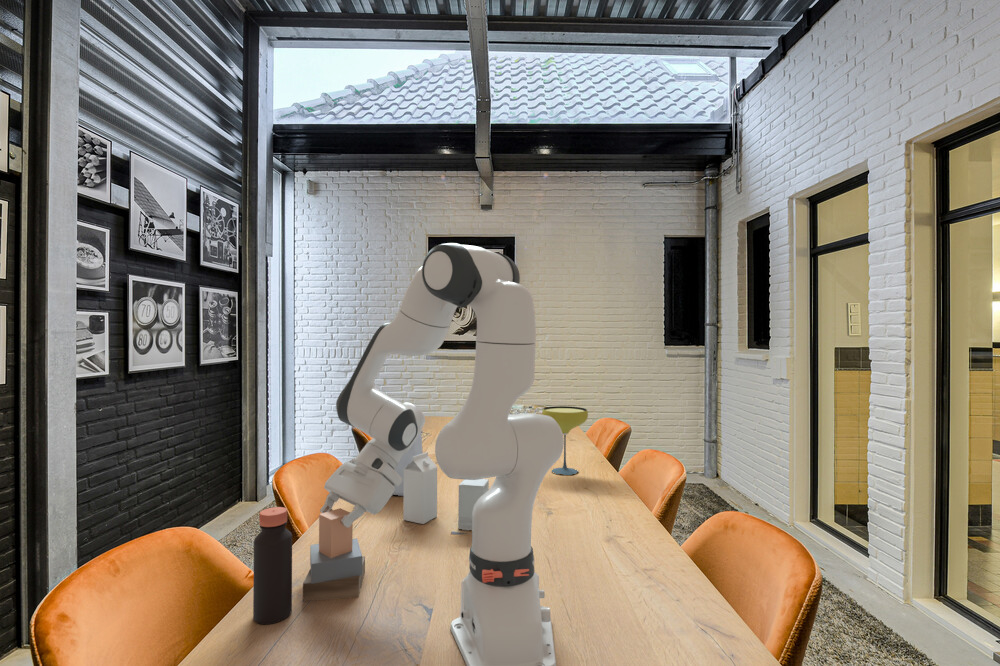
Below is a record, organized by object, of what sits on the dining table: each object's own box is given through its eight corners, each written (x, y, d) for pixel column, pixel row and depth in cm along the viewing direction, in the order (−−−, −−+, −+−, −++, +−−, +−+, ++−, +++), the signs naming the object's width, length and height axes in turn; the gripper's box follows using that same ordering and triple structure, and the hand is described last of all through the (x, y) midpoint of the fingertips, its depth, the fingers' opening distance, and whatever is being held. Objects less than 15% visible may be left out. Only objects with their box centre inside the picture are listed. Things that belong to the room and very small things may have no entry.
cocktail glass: (594, 470, 200) (594, 408, 200) (576, 480, 185) (576, 414, 185) (554, 463, 210) (554, 405, 210) (534, 473, 194) (534, 410, 195)
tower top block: (362, 575, 104) (362, 556, 104) (311, 583, 100) (311, 564, 100) (356, 555, 113) (357, 538, 113) (310, 563, 109) (310, 544, 109)
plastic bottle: (413, 497, 165) (414, 414, 165) (371, 495, 167) (371, 412, 167) (427, 484, 180) (427, 407, 180) (388, 482, 182) (388, 406, 182)
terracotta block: (352, 550, 107) (352, 513, 107) (331, 558, 103) (331, 519, 103) (339, 544, 110) (340, 508, 110) (318, 551, 106) (319, 514, 106)
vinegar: (281, 601, 100) (282, 502, 100) (298, 613, 95) (299, 510, 96) (246, 616, 95) (247, 511, 95) (263, 629, 90) (264, 520, 90)
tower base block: (358, 599, 102) (358, 579, 102) (302, 603, 100) (302, 583, 100) (364, 573, 113) (365, 556, 113) (314, 577, 111) (314, 559, 111)
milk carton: (403, 520, 144) (403, 455, 145) (418, 512, 151) (418, 450, 151) (422, 524, 141) (423, 458, 141) (437, 516, 147) (437, 453, 148)
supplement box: (483, 532, 136) (483, 486, 136) (457, 530, 137) (457, 484, 138) (489, 522, 143) (489, 478, 143) (464, 520, 145) (464, 477, 145)
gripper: (342, 450, 119) (302, 500, 112) (389, 465, 104) (346, 524, 97) (359, 465, 122) (321, 514, 115) (407, 482, 108) (366, 540, 101)
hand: (333, 519), depth 106 cm, fingers open, 8 cm apart
